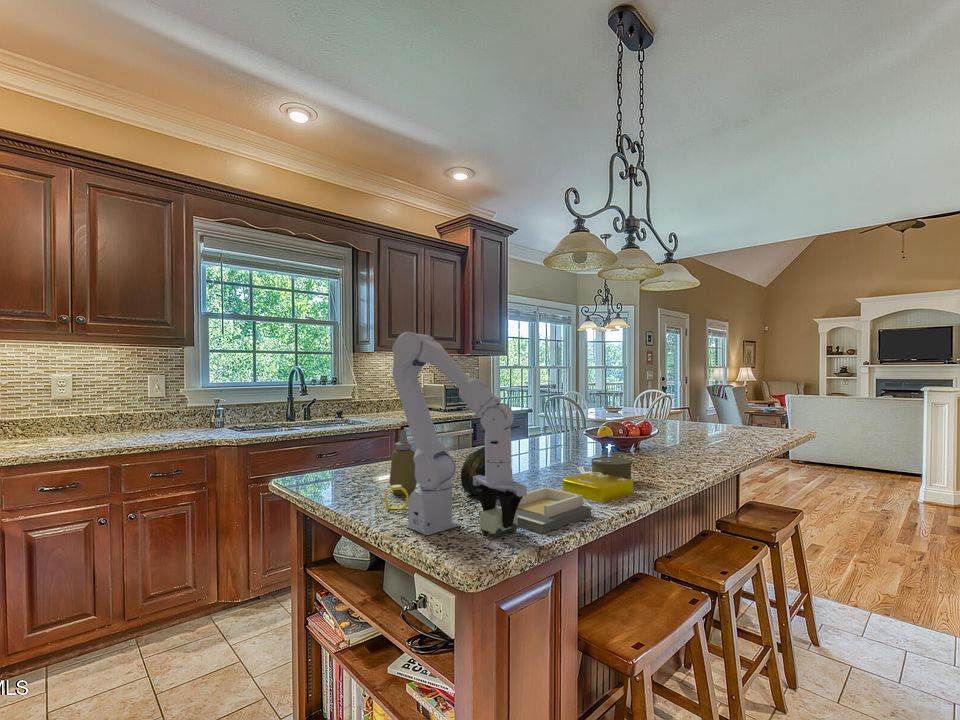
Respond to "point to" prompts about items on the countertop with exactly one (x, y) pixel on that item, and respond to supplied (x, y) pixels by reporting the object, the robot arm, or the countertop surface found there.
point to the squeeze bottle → (403, 466)
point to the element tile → (598, 486)
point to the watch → (396, 487)
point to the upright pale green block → (495, 522)
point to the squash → (473, 470)
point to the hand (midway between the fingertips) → (499, 523)
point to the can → (612, 466)
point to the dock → (550, 509)
